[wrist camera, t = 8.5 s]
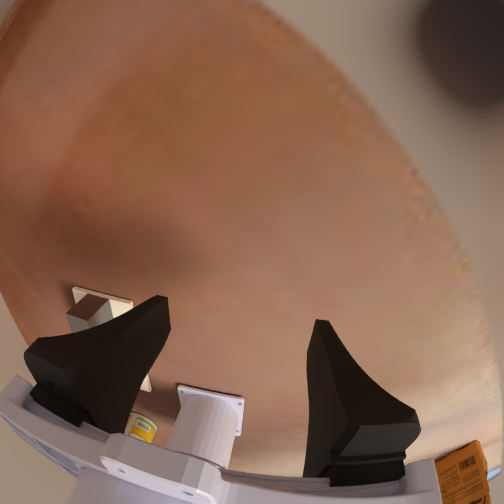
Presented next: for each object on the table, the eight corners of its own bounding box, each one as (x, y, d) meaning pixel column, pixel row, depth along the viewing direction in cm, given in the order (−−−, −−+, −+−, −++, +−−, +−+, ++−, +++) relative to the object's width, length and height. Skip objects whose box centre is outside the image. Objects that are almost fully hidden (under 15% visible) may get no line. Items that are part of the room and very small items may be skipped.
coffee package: (479, 447, 33) (496, 516, 13) (433, 471, 37) (443, 542, 17) (481, 435, 30) (503, 514, 10) (430, 462, 34) (442, 544, 14)
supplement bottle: (133, 425, 37) (112, 467, 28) (122, 407, 35) (97, 452, 26) (161, 433, 36) (141, 478, 27) (151, 416, 34) (128, 465, 25)
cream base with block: (151, 389, 31) (138, 415, 27) (102, 371, 32) (86, 394, 27) (132, 300, 25) (108, 327, 21) (75, 286, 26) (49, 307, 22)
